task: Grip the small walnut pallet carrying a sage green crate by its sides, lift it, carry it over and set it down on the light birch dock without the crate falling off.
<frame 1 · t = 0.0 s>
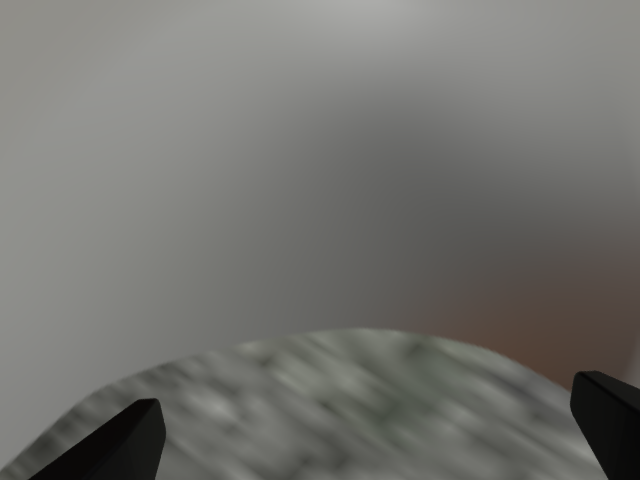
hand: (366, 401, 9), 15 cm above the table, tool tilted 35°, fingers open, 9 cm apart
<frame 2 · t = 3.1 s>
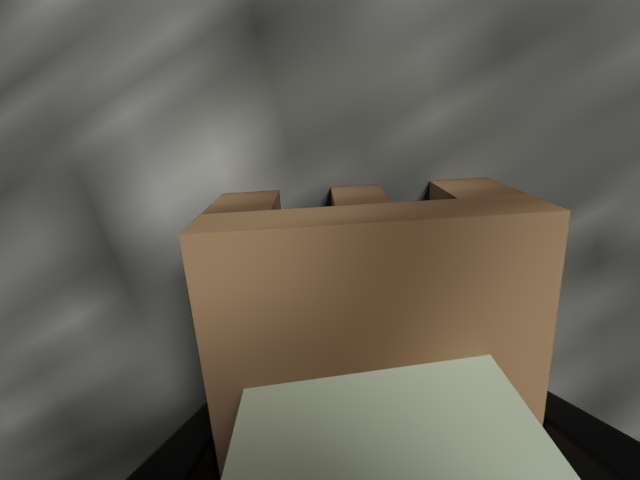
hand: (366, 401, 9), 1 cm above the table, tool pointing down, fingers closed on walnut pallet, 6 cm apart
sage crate: (379, 468, 7), point 3 cm above the table, touching walnut pallet
walnut pallet: (360, 367, 10), on the table, touching gripper, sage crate
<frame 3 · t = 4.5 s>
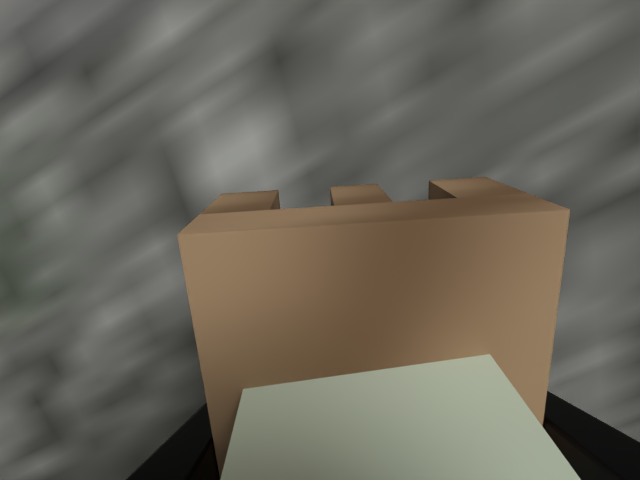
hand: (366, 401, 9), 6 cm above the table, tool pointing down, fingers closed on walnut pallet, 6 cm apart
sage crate: (378, 467, 7), point 8 cm above the table, touching walnut pallet
walnut pallet: (360, 367, 10), point 5 cm above the table, touching gripper, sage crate
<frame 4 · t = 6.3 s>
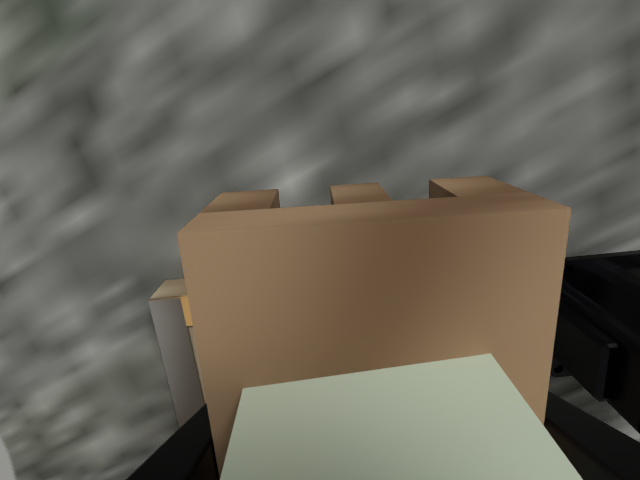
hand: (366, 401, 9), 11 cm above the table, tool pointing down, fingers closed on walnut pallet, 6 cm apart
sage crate: (379, 467, 7), point 13 cm above the table, touching walnut pallet
birch dock: (322, 387, 22), on the table
walnut pallet: (360, 366, 10), point 10 cm above the table, touching gripper, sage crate
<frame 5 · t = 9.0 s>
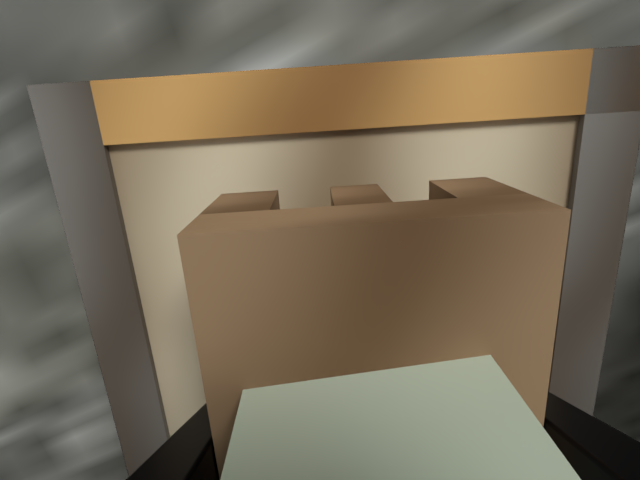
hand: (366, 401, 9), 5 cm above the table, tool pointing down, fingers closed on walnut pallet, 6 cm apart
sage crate: (379, 468, 7), point 6 cm above the table, touching walnut pallet
birch dock: (346, 304, 13), on the table
walnut pallet: (360, 367, 10), point 3 cm above the table, touching gripper, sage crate
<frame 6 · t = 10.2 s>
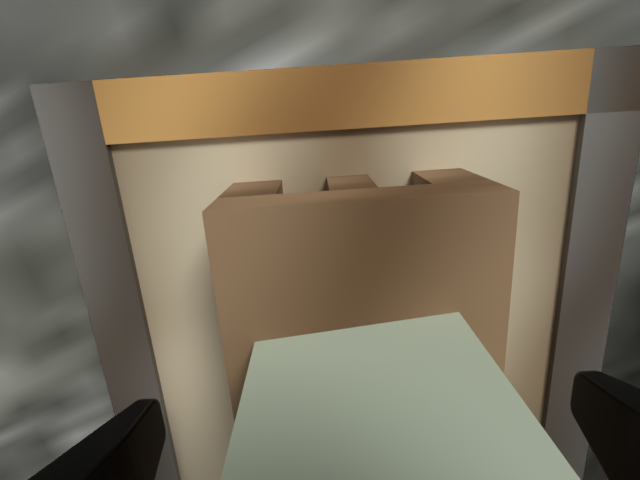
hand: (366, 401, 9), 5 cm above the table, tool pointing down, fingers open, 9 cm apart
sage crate: (368, 410, 9), point 5 cm above the table, touching walnut pallet
birch dock: (347, 304, 13), on the table
walnut pallet: (353, 336, 11), point 2 cm above the table, touching birch dock, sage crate
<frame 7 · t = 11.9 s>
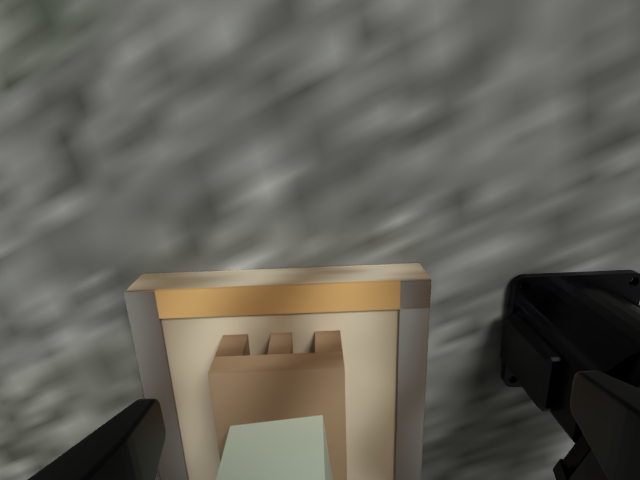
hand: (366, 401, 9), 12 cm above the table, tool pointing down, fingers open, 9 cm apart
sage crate: (283, 457, 18), point 5 cm above the table, touching walnut pallet
birch dock: (289, 385, 23), on the table
walnut pallet: (287, 410, 21), point 2 cm above the table, touching birch dock, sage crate
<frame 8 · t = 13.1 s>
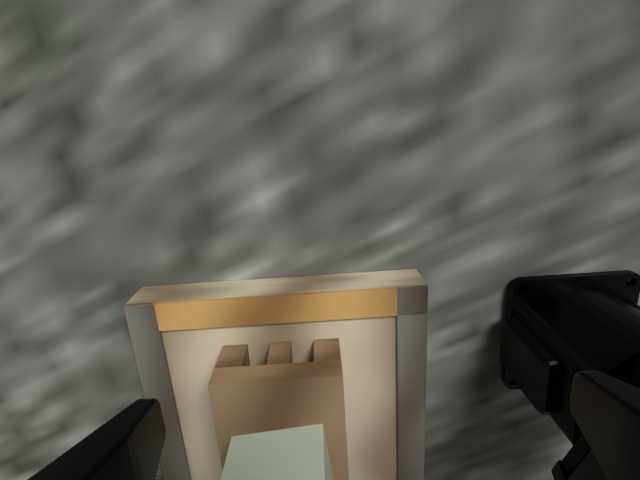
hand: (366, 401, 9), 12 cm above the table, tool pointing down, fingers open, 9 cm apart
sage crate: (285, 465, 18), point 5 cm above the table, touching walnut pallet
birch dock: (290, 392, 23), on the table
walnut pallet: (288, 418, 21), point 2 cm above the table, touching birch dock, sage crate
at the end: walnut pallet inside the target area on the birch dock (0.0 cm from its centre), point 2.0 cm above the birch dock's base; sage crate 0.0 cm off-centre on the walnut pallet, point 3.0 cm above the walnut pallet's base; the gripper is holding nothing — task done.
